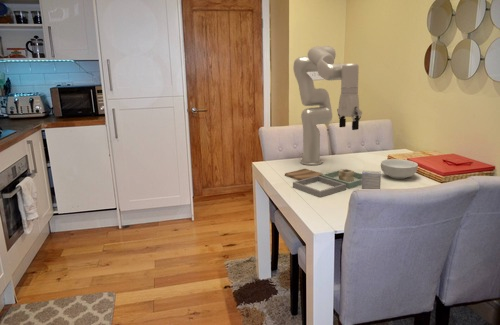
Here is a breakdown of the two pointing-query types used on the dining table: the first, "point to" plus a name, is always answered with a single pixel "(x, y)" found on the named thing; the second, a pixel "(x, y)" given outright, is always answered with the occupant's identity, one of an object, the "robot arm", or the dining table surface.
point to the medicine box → (371, 179)
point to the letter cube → (346, 175)
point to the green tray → (348, 184)
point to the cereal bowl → (399, 168)
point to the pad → (302, 174)
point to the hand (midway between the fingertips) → (348, 128)
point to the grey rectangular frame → (336, 188)
